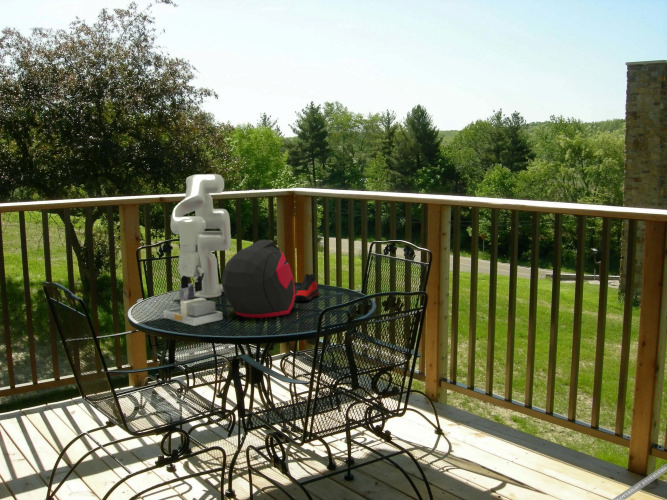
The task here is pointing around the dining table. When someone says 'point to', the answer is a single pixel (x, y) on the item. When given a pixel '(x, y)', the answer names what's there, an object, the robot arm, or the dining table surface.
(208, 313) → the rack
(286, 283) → the helmet
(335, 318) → the dining table surface
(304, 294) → the athletic shoe
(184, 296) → the rock
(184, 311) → the off-white rectangular block
